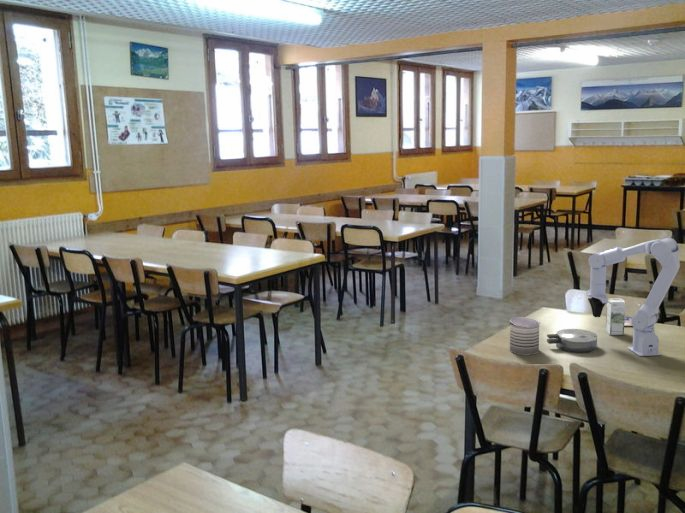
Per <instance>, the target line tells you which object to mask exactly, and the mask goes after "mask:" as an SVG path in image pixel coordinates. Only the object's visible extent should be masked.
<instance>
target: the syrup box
mask: <svg viewBox="0 0 685 513" xmlns="http://www.w3.org/2000/svg"><path fill="white" fill-rule="evenodd" d="M625 315H626V301H625V300H624V299H623V298H608V303H606V315H605V316H606V317H605V318H606V319H605V320H606V321H605V332H606V333H607V334H608V335H609V336H624V335H625V327H624V322H625V317H626V316H625Z"/></svg>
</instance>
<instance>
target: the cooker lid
mask: <svg viewBox="0 0 685 513" xmlns="http://www.w3.org/2000/svg"><path fill="white" fill-rule="evenodd" d="M546 337H547V339H556V338H559V339H561V340H564V341H568V342H574V343H588V342H593V341H595V340H597V341H598V335H597V334H596V333H595V332H593V331H591V330H587V329H581V328H565V329H560V330H557V331H556V333H552V334H548V333H547V334H546Z"/></svg>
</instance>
